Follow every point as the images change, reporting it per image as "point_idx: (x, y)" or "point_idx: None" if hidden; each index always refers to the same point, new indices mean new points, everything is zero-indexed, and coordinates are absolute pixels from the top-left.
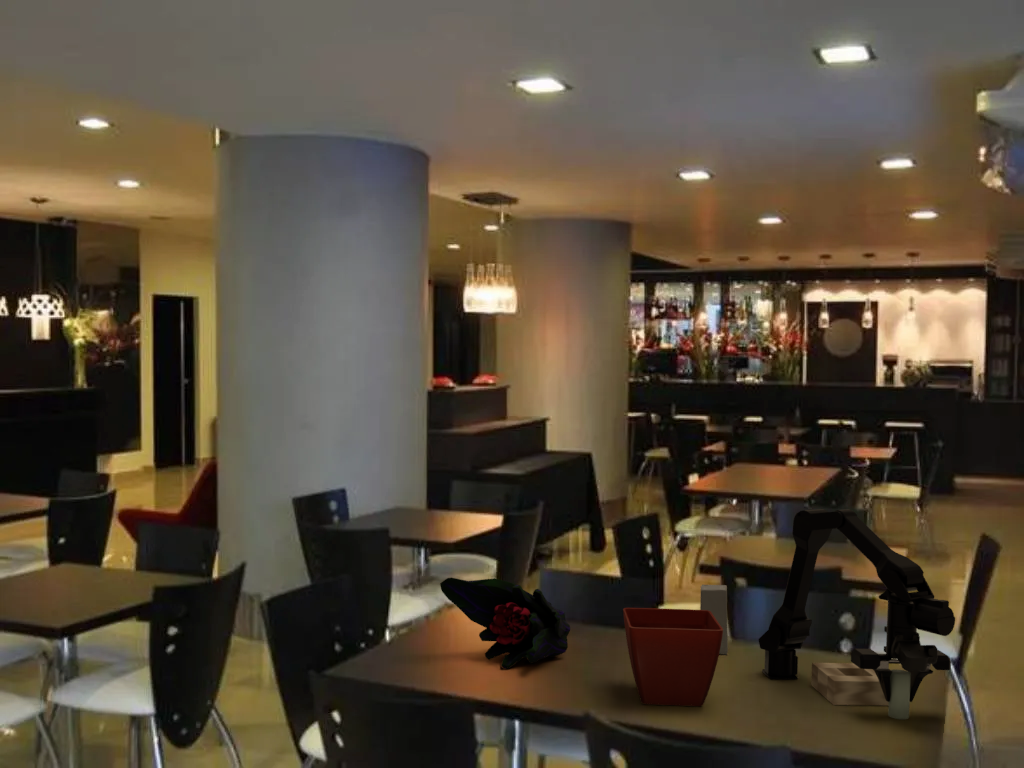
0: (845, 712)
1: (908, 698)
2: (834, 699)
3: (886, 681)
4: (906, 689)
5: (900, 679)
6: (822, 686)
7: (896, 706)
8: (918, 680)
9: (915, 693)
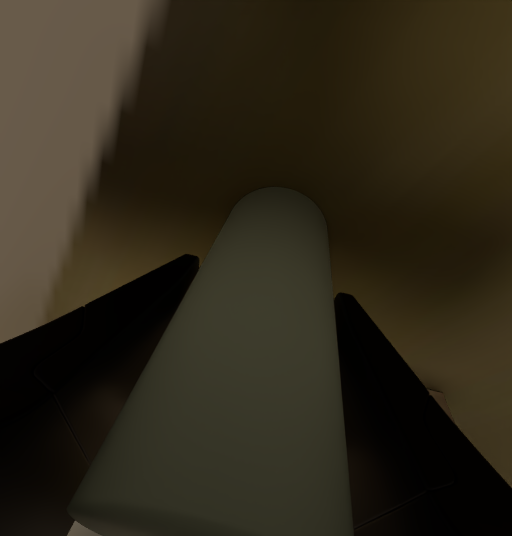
0: (491, 332)
1: (223, 252)
2: (447, 412)
3: (457, 455)
4: (232, 302)
5: (297, 439)
6: None
7: (318, 241)
8: (27, 364)
9: (141, 277)
